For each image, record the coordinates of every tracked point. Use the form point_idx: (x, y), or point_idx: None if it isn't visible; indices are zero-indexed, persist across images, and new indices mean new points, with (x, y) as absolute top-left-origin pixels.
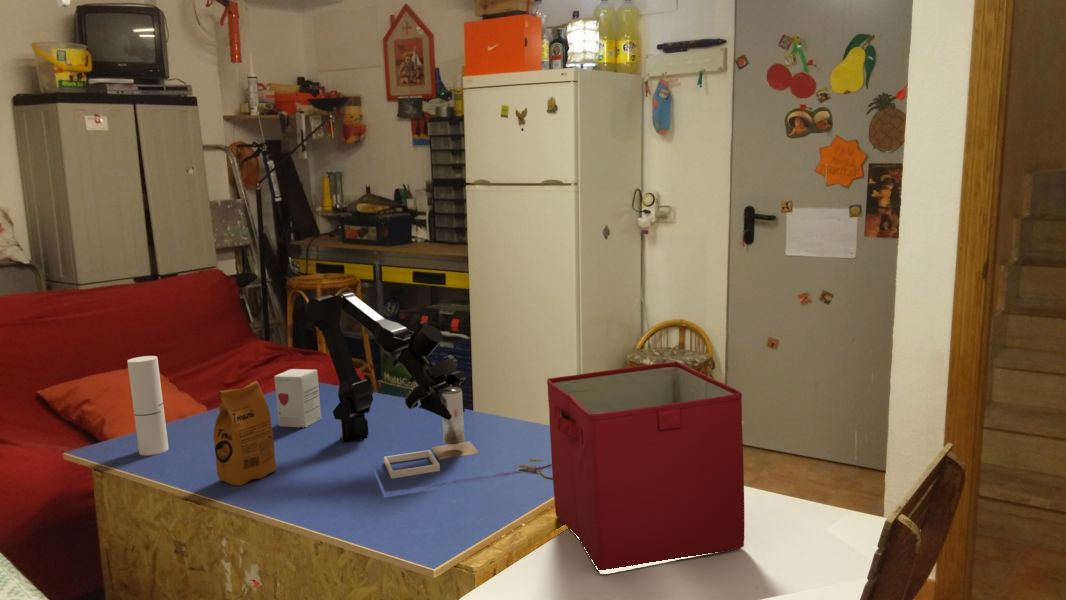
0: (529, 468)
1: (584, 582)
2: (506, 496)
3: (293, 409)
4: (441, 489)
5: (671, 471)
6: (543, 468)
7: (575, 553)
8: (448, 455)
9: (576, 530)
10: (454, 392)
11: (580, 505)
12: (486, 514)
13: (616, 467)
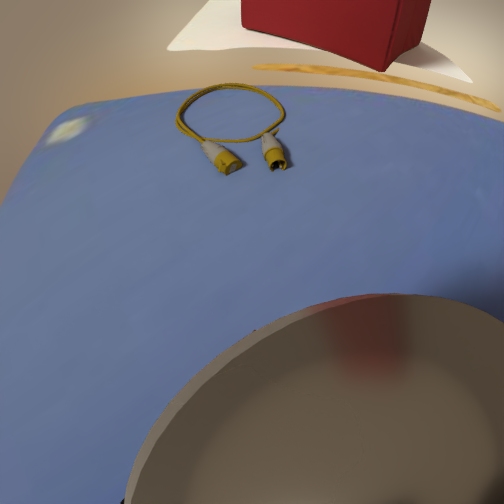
0: (277, 141)
1: (431, 51)
2: (398, 132)
3: None
4: (481, 249)
5: None
6: (238, 140)
7: (414, 56)
8: None
9: (402, 47)
10: (477, 317)
11: (417, 15)
12: (454, 131)
13: None
